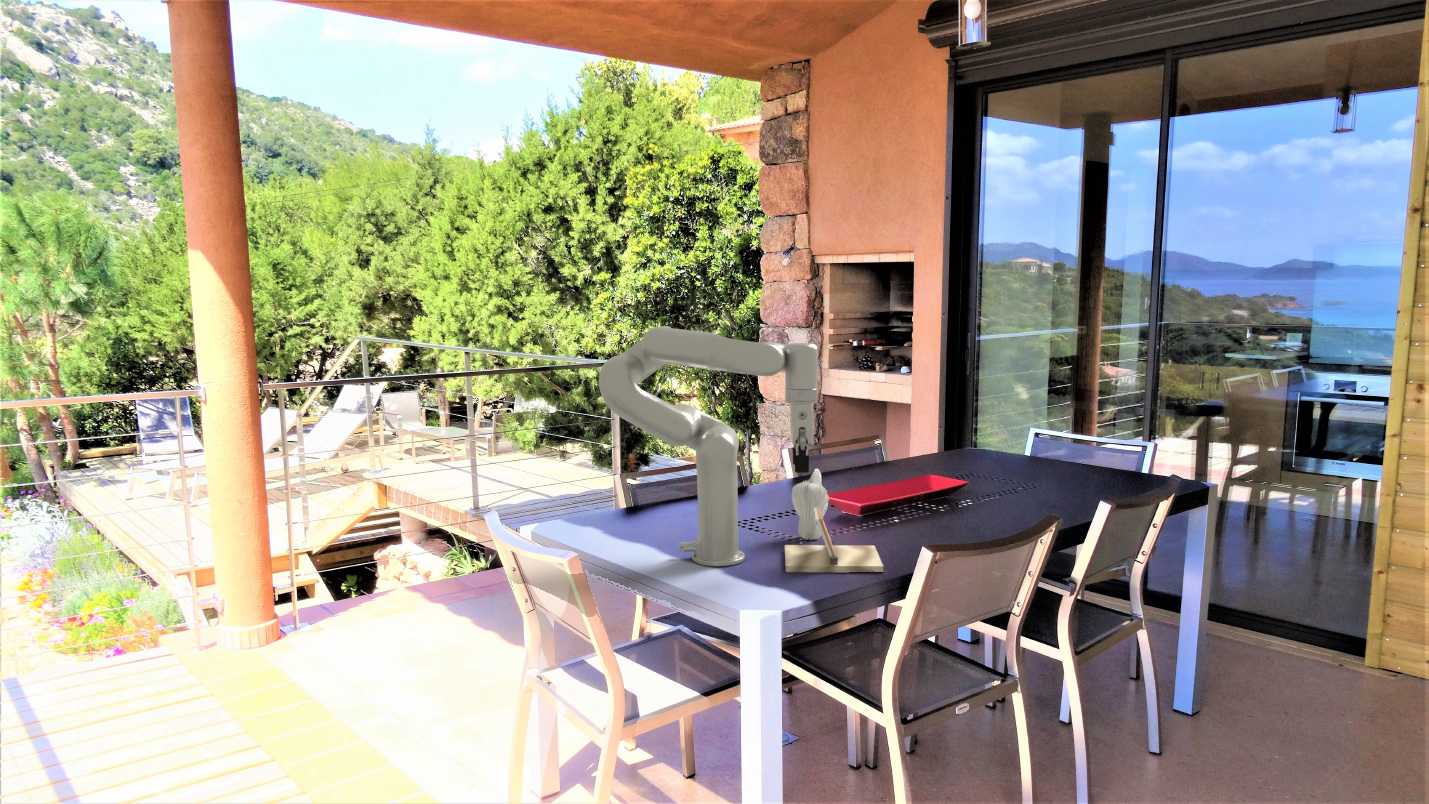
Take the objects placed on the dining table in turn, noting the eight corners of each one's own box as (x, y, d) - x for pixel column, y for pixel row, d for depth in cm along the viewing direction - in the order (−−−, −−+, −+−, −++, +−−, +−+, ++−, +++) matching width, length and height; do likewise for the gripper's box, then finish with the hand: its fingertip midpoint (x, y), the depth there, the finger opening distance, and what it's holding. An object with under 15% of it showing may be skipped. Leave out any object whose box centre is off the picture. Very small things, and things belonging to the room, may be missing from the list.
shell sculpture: (801, 544, 219) (801, 474, 217) (790, 535, 227) (790, 468, 225) (832, 541, 222) (832, 472, 220) (819, 533, 230) (819, 466, 228)
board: (785, 571, 197) (785, 558, 196) (784, 550, 214) (784, 538, 213) (883, 572, 195) (883, 559, 195) (874, 551, 212) (874, 539, 212)
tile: (816, 520, 197) (821, 518, 197) (813, 507, 209) (818, 506, 209) (832, 562, 198) (837, 560, 198) (828, 547, 210) (833, 546, 210)
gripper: (820, 400, 192) (819, 475, 194) (814, 392, 210) (813, 461, 211) (786, 400, 193) (785, 475, 195) (783, 392, 210) (783, 461, 212)
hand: (800, 468), depth 203 cm, fingers open, 9 cm apart
